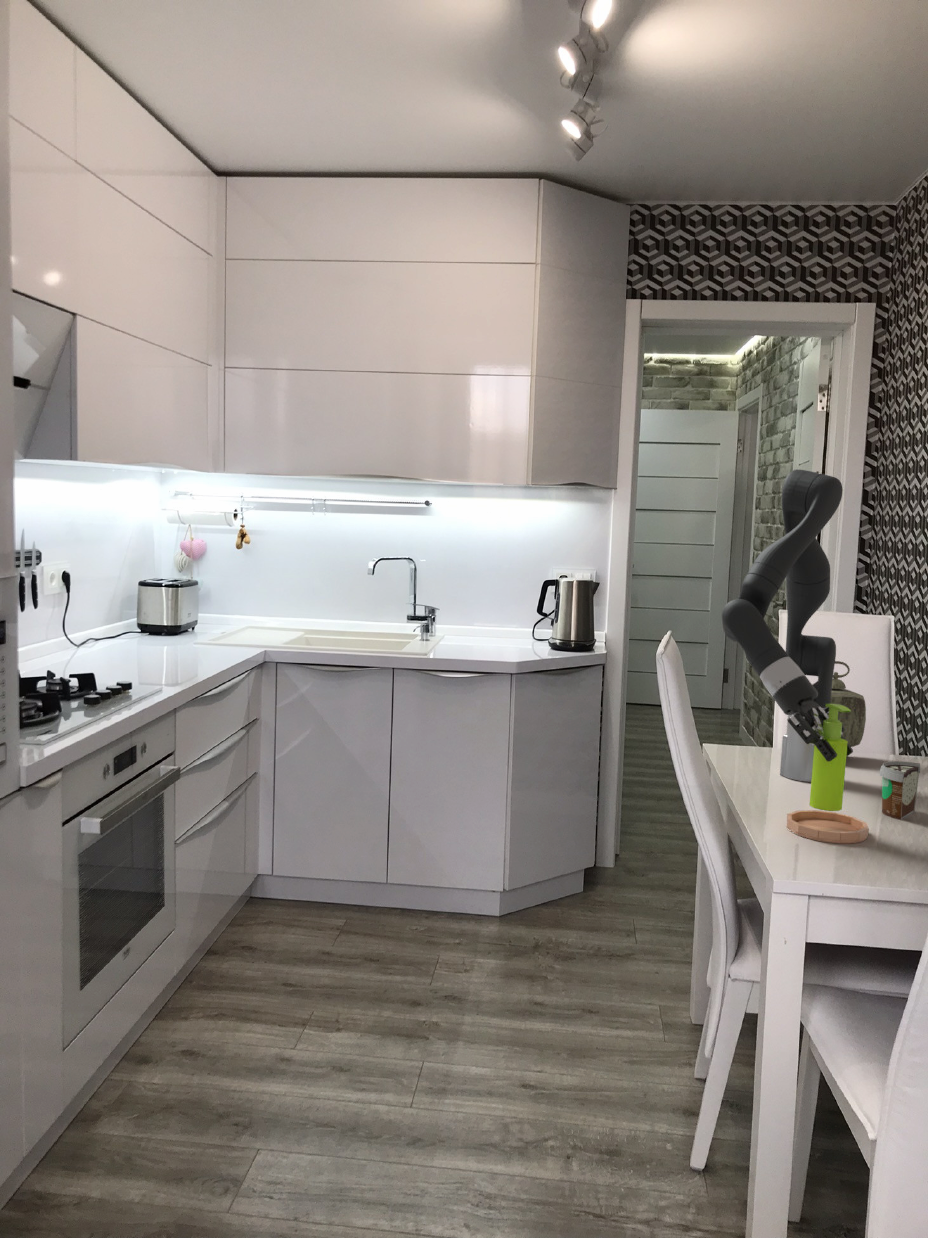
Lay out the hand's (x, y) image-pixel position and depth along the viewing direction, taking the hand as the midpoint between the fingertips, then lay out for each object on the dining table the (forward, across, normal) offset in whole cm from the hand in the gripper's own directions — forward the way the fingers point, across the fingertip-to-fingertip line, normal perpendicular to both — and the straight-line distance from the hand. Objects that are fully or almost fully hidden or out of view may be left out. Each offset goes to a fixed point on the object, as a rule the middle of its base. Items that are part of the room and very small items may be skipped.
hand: (840, 756), depth 195 cm
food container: (+11, +25, +10) cm, 29 cm away
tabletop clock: (-12, +62, +33) cm, 71 cm away
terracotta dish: (+9, 0, +12) cm, 15 cm away
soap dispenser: (+6, 0, +9) cm, 11 cm away
